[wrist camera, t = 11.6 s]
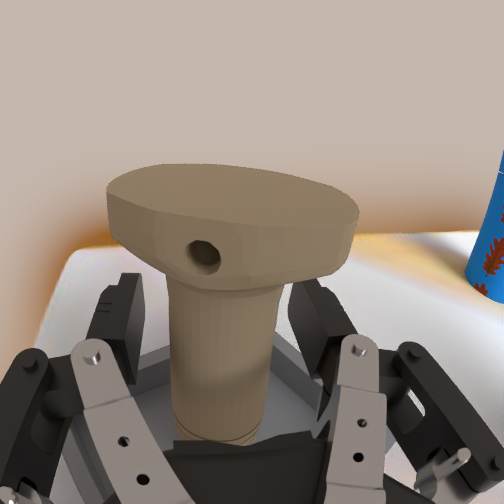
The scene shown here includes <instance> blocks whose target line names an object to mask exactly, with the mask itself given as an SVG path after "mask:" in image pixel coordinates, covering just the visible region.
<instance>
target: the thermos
mask: <svg viewBox="0 0 504 504" xmlns="http://www.w3.org/2000/svg"><path fill="white" fill-rule="evenodd" d="M499 171H500V172H502V173H504V151H503V156H502V160H501V164H500V168H499ZM465 276H466V278H467V279H468V281H469V282H470V284H471V285H472V286H473V287H474V288H475V289H477V290H478V291H479V292H481V293H482V294H483V295H485V296H486V297H488V298H490V299H492V300H494V301H497V302H500V303H504V174H501V173H498V176H497V180H496V183H495V187H494V190H493V194H492V197H491V200H490V204H489V206H488V210H487V213H486V216H485V218H484V221H483V224H482V227H481V230H480V232H479V235H478V238H477V240H476V243H475V245H474V248H473V250H472V253H471V256H470V259H469V262H468V264H467V267H466V270H465Z"/></svg>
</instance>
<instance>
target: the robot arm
mask: <svg viewBox="0 0 504 504" xmlns="http://www.w3.org/2000/svg"><path fill="white" fill-rule="evenodd" d="M288 318H289V321H290V324H291V327H292V329H293V332H294V335H295V337H296V340H297V343H298V345H299V348H300V351H301V353H302V356H303V359H304V362H305V364H306V367H307V370H308V372H309V375H310V378H311V380H314V379H322V381H323V385H322V387H321V390H320V395H319V400H318V405H317V410H316V415H315V420H314V424H313V428H312V431H311V430H308V431H301V432H295V433H288V434H280V435H277V436H274V437H271V438H268V439H266V440H263V441H260V442H257V443H254V444H251V445H247V446H240V445H233V444H227V443H221V442H215V441H210V440H173V449H169V450H165V451H161V450H160V448H159V446H158V444H157V443H156V441H155V439H154V437H153V435H152V434H151V432H150V430H149V428H148V426H147V424H146V422H145V420H144V418H143V416H142V414H141V412H140V410H139V408H138V406H137V404H136V402H135V400H134V398H133V396H132V395H130V393H129V390H128V388H127V387H128V385H136V381H137V372H138V364H139V356H140V348H141V341H142V334H143V328H144V321H145V302H144V293H143V284H142V276H141V273H122V274H121V277H120V280H119V283H118V285H109V286H108V287H107V288H106V289H105V290H104V291H103V292H102V293H101V295H100V298H99V301H98V304H97V306H96V309H95V312H94V315H93V318H92V321H91V324H90V327H89V330H88V333H87V336H86V339H85V340H84V341H81V342H80V343H78V344H77V345H76V346H75V347H74V348H73V350H72V352H71V354H69V355H66V356H61V357H55V358H49V359H48V357H47V355H46V354H45V352H43V351H42V350H40V349H37V348H29V349H26V350H24V351H22V352H20V353H19V354H18V355H17V356H16V357H15V359H14V360H13V362H12V364H11V366H10V368H9V370H8V371H7V373H6V375H5V377H4V379H3V380H2V382H1V384H0V504H53V503H52V501H51V500H49V496H50V492H51V488H52V484H53V480H54V477H55V473H56V469H57V466H58V462H59V459H60V456H61V452H62V449H63V446H64V443H65V440H66V437H67V434H68V431H69V428H70V425H71V422H72V419H73V416H77V415H83V414H84V416H85V419H86V422H87V425H88V428H89V431H90V433H91V436H92V439H93V441H94V444H95V446H96V449H97V451H98V454H99V456H100V459H101V461H102V463H103V466H104V468H105V470H106V473H107V475H108V477H109V479H110V481H111V483H112V485H113V488H114V490H115V491H114V492H113V493H112V494H111V495H110V496H109V497H108V498H107V499H106V500H105V501H104V502H103V503H102V504H468V503H469V502H471V501H472V500H473V499H474V498H475V497H477V496H479V495H480V494H482V493H484V492H485V491H487V490H489V489H490V488H492V487H493V486H495V485H496V484H498V483H499V482H501V481H502V480H504V448H503V447H502V445H501V444H500V443H499V441H498V440H497V438H496V437H495V436H494V434H493V433H492V432H491V430H490V429H489V427H488V426H487V425H486V423H485V422H484V421H483V419H482V418H481V417H480V416H479V414H478V413H477V412H476V410H475V409H474V408H473V406H472V405H471V404H470V403H469V401H468V400H467V399H466V397H465V396H464V395H463V394H462V392H461V391H460V390H459V389H458V387H457V386H456V385H455V384H454V383H453V381H452V380H451V379H450V378H449V376H448V375H447V374H446V373H445V372H444V370H443V369H442V368H441V367H440V366H439V364H438V363H437V362H436V361H435V360H434V358H433V357H432V356H431V355H430V354H429V353H428V351H427V350H426V349H425V348H424V347H423V346H421V345H420V344H418V343H415V342H404V343H402V344H401V345H400V346H399V347H398V349H397V351H391V350H383V349H378V347H377V345H376V344H375V343H374V342H373V341H372V340H371V339H370V338H368V337H366V336H363V335H359V334H358V333H357V331H356V329H355V328H354V326H353V324H352V322H351V321H350V319H349V317H348V315H347V314H346V312H345V311H344V309H343V307H342V305H340V302H339V300H338V299H337V297H336V295H335V294H334V293H333V292H331V291H330V290H329V289H328V288H327V287H321V285H320V284H319V282H318V280H317V278H314V279H310V280H305V281H300V282H295V283H293V286H292V291H291V295H290V299H289V304H288ZM410 390H412V391H413V393H414V394H415V395H416V397H417V398H418V399H419V401H420V402H421V403H422V405H423V406H424V409H425V416H423V415H422V414H421V412H420V411H419V409H418V408H417V407H416V405H415V404H414V402H413V401H412V400H411V398H410V397H409V396H408V393H409V391H410ZM386 425H387V427H388V428H389V430H390V431H391V433H392V434H393V436H394V438H395V439H396V441H397V442H398V444H399V445H400V447H401V449H402V450H403V452H404V453H405V455H406V456H407V458H408V460H409V461H410V463H411V464H412V466H413V468H414V469H415V471H416V472H417V475H416V482H415V483H414V490H415V491H414V490H412V489H410V488H409V487H407V486H405V485H403V484H402V483H400V482H398V481H396V480H395V479H393V478H391V477H390V476H388V475H386V474H385V473H383V472H384V459H385V443H386ZM419 493H420V494H419Z"/></svg>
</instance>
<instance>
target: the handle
mask: <svg viewBox="0 0 504 504" xmlns="http://www.w3.org/2000/svg"><path fill="white" fill-rule="evenodd" d="M106 193H107V207H108V208H107V209H108V219H109V227H110V232H111V236H112V238H114V239H115V240H116V241H117V242H118V243H120V244H121V245H122V246H123V247H124V248H126V249H127V250H128V251H130V252H131V253H132V254H134V255H135V256H136V257H138V258H139V259H141V260H142V261H144V262H145V263H147V264H149V265H150V266H152V267H154V268H155V269H157V270H159V271H160V272H162V273H164V274H166V281H167V288H168V295H169V333H170V370H171V398H172V408H173V414H174V420H175V424H176V427H177V430H178V433H179V436H180V439H181V440H210V441H215V442H221V443H227V444H233V445H240V446H247V445H251V444H253V443H254V441H255V438H256V436H257V434H258V431H259V428H260V425H261V421H262V418H263V413H264V409H265V402H266V394H267V386H268V378H269V370H270V362H271V355H272V348H273V341H274V334H275V327H276V320H277V313H278V306H279V301H280V298H281V295H282V291H283V288H284V285H285V284H289V283H295V282H300V281H305V280H310V279H314V278H319V277H323V276H327V275H331V274H333V273H334V272H335V271H337V270H338V269H339V268H340V267H341V266H342V265H343V264H344V263H345V261H346V259H347V257H348V254H349V251H350V248H351V244H352V241H353V237H354V233H355V229H356V225H357V221H358V217H359V209H358V206H357V205H356V203H355V202H354V200H353V199H351V198H350V197H349V196H348V195H347V194H345V193H343V192H342V191H340V190H338V189H336V188H334V187H332V186H328V185H325V184H321V183H318V182H315V181H311V180H308V179H304V178H300V177H296V176H292V175H288V174H283V173H279V172H273V171H267V170H261V169H253V168H246V167H238V166H228V165H216V164H161V165H154V166H149V167H144V168H140V169H137V170H133V171H130V172H128V173H126V174H123V175H121V176H119V177H117V178H115V179H114V180H113V181H111V182H110V183H109V185H108V186H107V192H106Z"/></svg>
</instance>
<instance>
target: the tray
mask: <svg viewBox="0 0 504 504" xmlns="http://www.w3.org/2000/svg"><path fill="white" fill-rule="evenodd" d="M322 385H323V381H322V379H314V380H311V378H310V375H309V372H308V370H307V367H306V364H305V362H304V359H303V356H302V354H301V353H300V352H299V351H298V350H297V349H295V348H294V347H293V346H292V345H291V344H289V343H288V342H287V341H286V340H285V339H284V338H282V337H281V336H280V335H279V334H278V333H276V332H275V334H274V341H273V348H272V355H271V362H270V370H269V378H268V386H267V394H266V402H265V409H264V413H263V418H262V421H261V425H260V428H259V431H258V434H257V436H256V438H255V441H254V443H257V442H260V441H263V440H266V439H268V438H271V437H274V436H277V435H280V434H288V433H295V432H301V431H308V430H311V431H312V428H313V424H314V420H315V415H316V410H317V405H318V400H319V395H320V390H321V387H322ZM127 388H128V390H129V393H130V395H132V396H133V398H134V400H135V402H136V404H137V406H138V408H139V410H140V412H141V414H142V416H143V418H144V420H145V422H146V424H147V426H148V428H149V430H150V432H151V434H152V435H153V437H154V439H155V441H156V443H157V444H158V446H159V448H160V450H161V451H165V450H169V449H173V440H181V439H180V436H179V433H178V430H177V427H176V424H175V420H174V414H173V408H172V398H171V370H170V345H168V346H166V347H163V348H160V349H158V350H155V351H153V352H150V353H147V354H145V355H142V356H139V364H138V372H137V381H136V385H128V387H127ZM395 442H396V439H395V438H394V436H393V434H392V433H391V431H390V430H389V428H388V427H387V425H386V443H385V454H386V453H387V452H388V450H389V449H390V448H391V447H392V446H393V444H394V443H395ZM254 443H253V444H254ZM62 453H63V456H64V458H65V461H66V463H67V466H68V468H69V470H70V473H71V475H72V477H73V479H74V481H75V484H76V486H77V488H78V490H79V492H80V494H81V496H82V498H83V500H84V502H85V504H102V503H103V502H104V501H105V500H106V499H107V498H108V497H109V496H110V495H111V494H112V493H113V492H114V491H115V490H114V488H113V485H112V483H111V481H110V479H109V477H108V475H107V473H106V470H105V468H104V466H103V463H102V461H101V459H100V456H99V454H98V451H97V449H96V446H95V444H94V441H93V439H92V436H91V433H90V431H89V428H88V425H87V422H86V419H85V416H84V414H83V415H77V416H73V419H72V422H71V425H70V428H69V431H68V434H67V437H66V440H65V443H64V446H63V449H62Z"/></svg>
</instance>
